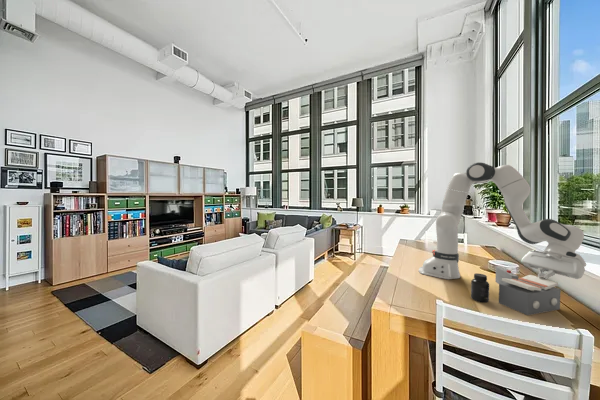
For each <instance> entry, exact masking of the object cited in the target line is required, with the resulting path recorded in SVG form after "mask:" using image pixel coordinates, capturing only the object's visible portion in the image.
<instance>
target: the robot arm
mask: <svg viewBox="0 0 600 400" xmlns="http://www.w3.org/2000/svg"><path fill="white" fill-rule="evenodd" d="M489 182H493V184H495V185H496V187H497V188H498V189H499V191H500V193H501V195H502V197H503V199H504V206H505V208H506V210H507V212H508V213H509V217H510V218H511V219H512V222H513V223H514V226H515V228H516V231H517V234H518V237H519V238H520V239H521V240H522V241H523V242H525V243H527V244H531V245H537V244H540V243H543V242H547V243H548V244H547V246H546V247H545V249H544V250H543V251H538V250H529V251H528V252H526V254H525V255H524V256H523V257H522V258H521V263H522V264H523V266H524V267H527V268H528V267H529V268H531V269H534V270H535V269H536V270H538V273H537V277H540V278H543V279H547V280H549V278H550V277H553V276H555V274H556V275H559V276H564V277H568V278H572V279H575V280H579V279H581V278H582V277H583V275H584V274H585V271H586V269H585V268H586V266H587V263H586V261H585V259H584V257H582V255H580V254H579V253H576V251H577V250H579V249H580V247H581V245H582V243H583V242H584V238H585V234H584V231H583V230H582V229H581V228H579V227H578V226H576V225H572V224H564V223H561V222H559V221H557V220H554V219H552V218H545V219H541V220H538V221H536V222H531V221H530V219H529V218H528V215H527V213H526V212H525V210H524V208H523V205H524V202H525V201H526V200H527V198H528V197H529V196H530V194H531V191H532V190H531V186H530V184H529V182H528V181H527V180H526V179H525V177H524V176H523V175H522V174H521V173H520V172H519V171H518V170H517V169H516V168H514V166H513V165H510V164H503V165H499V166H497V167H494V166H492V165H490V164H488V163H484V162H474V163H472V164H470V165H469V166H468V167H467V169H466V172H461V171H460V172H455V173H454V174H453V175H452V176H451V178H450V180H449V182H448V184H447V187H446V190H445V194H444V198H443V201H442V206H441V209H440V213H439V215H438V216H437V217H436V219H435V228H436V229H435V233H436V250H435V249H432V251H431V252H432V256H431V257H429V258H427V259H426V260H424V261H423V264H422V266H420V267H419V268H418V272H419V274H421V275H426V276H431V277H435V278H440V279H444V280H452V279H455V280H457V279H460V278H461V273H460V269H459V262H460V261H459V260H460V255H459V236H458V235H459V233H458V230H459V229H458V226H459V224H460V221H461V219H462V215H463V211H464V207H465V205H466V201H467V198H468V195H469V191H470V188H471V186H472V185H474V184H475V185H476V184H486V183H489ZM545 272H547V273H545Z"/></svg>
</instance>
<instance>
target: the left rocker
mask: <svg viewBox="0 0 600 400" xmlns="http://www.w3.org/2000/svg"><path fill="white" fill-rule="evenodd" d="M502 281H505V282H508V283H509V284H512V285H515V286H518V287H521V288H524V289H527V290H530V291H534V290H539V291H541V288H542V287H539V286H536V285H533V284H529V283H526V282H523V281H520V280H517V279H507V278H502Z"/></svg>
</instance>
